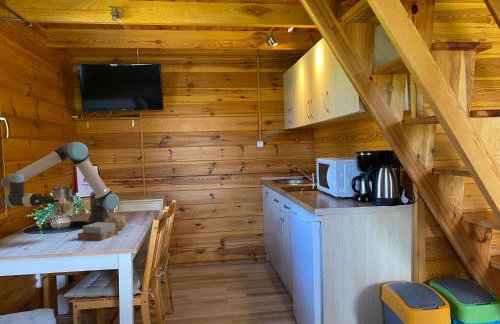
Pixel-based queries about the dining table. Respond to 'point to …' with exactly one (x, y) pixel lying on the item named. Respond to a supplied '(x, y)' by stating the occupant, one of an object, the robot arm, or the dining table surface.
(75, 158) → the robot arm
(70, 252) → the dining table surface
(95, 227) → the slate top block
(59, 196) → the coffee box
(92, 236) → the walnut base block
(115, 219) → the low-poly potato
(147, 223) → the dining table surface
